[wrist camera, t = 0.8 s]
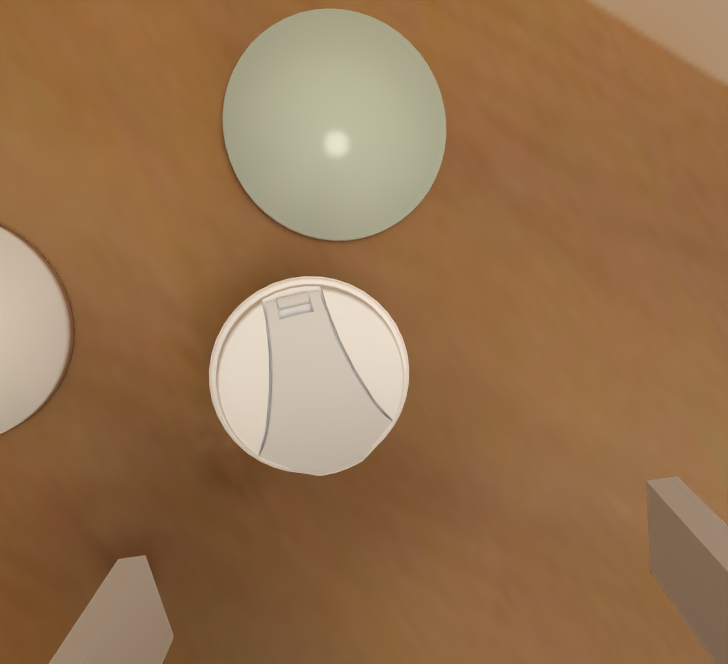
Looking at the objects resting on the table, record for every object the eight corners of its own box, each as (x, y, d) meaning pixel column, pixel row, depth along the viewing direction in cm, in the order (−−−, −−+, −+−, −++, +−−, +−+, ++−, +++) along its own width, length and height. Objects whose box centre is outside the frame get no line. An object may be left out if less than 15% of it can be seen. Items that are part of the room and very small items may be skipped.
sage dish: (328, 285, 33) (330, 285, 32) (177, 117, 31) (172, 111, 30) (482, 145, 34) (489, 141, 32) (343, -29, 31) (345, -41, 30)
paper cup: (225, 293, 32) (178, 303, 18) (349, 265, 33) (392, 255, 19) (257, 416, 33) (234, 513, 19) (376, 386, 34) (436, 458, 20)
